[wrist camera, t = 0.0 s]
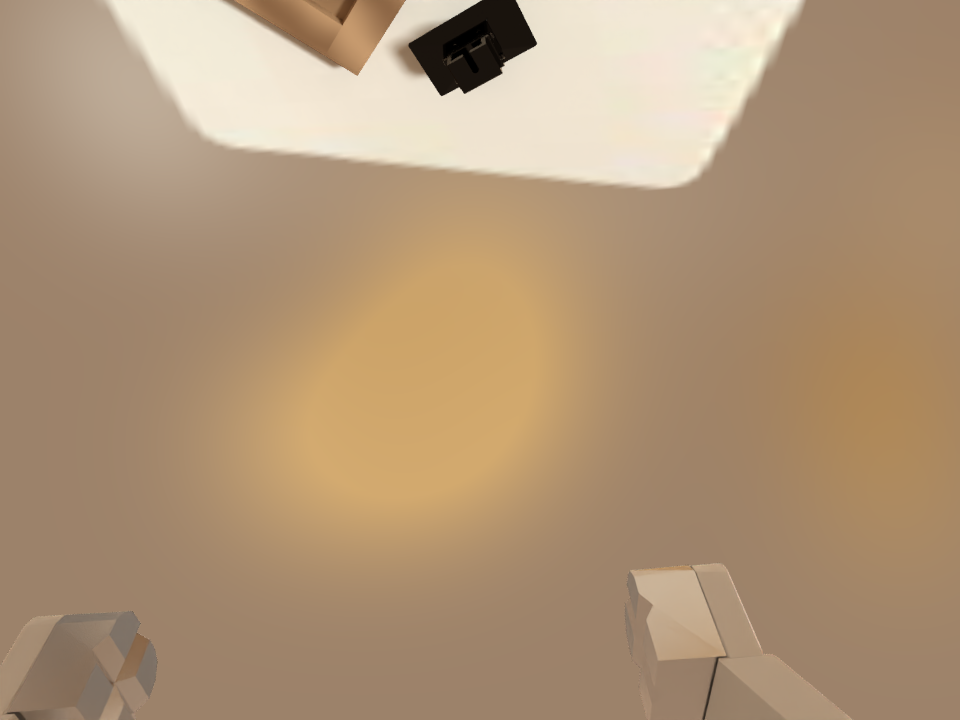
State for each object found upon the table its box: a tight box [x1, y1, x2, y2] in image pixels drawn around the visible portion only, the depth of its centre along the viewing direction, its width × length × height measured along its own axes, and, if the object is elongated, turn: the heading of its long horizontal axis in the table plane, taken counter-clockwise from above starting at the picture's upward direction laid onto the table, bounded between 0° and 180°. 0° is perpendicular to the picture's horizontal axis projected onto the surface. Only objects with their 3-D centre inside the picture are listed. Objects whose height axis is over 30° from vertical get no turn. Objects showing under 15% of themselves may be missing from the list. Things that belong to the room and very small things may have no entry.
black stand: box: [409, 0, 537, 96], centre depth 56 cm, size 12×7×5 cm, turn 118°
